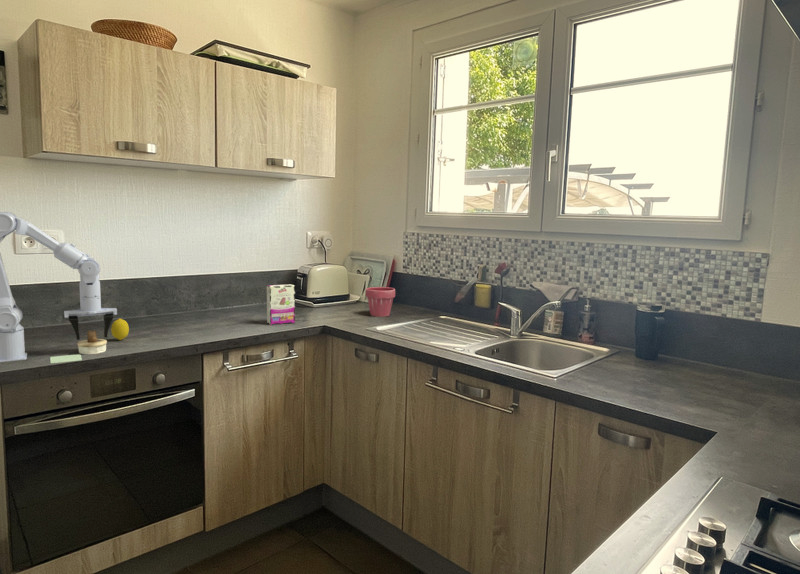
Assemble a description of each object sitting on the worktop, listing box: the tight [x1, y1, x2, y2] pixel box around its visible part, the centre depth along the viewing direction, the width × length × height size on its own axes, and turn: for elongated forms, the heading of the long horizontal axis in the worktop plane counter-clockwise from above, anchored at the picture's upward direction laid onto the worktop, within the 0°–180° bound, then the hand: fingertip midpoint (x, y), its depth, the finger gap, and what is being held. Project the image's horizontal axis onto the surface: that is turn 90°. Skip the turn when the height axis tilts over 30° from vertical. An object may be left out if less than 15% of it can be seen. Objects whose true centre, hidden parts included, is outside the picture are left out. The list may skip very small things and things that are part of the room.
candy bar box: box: [266, 283, 296, 326], centre depth 228 cm, size 11×5×16 cm, turn 123°
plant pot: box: [365, 286, 396, 318], centre depth 255 cm, size 14×14×13 cm
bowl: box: [78, 344, 107, 355], centre depth 173 cm, size 8×8×3 cm
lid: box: [77, 329, 108, 348], centre depth 172 cm, size 8×8×4 cm
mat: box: [49, 353, 83, 364], centre depth 164 cm, size 8×8×1 cm
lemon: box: [110, 318, 130, 341], centre depth 189 cm, size 6×6×8 cm
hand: (92, 338), depth 173 cm, fingers open, 7 cm apart
